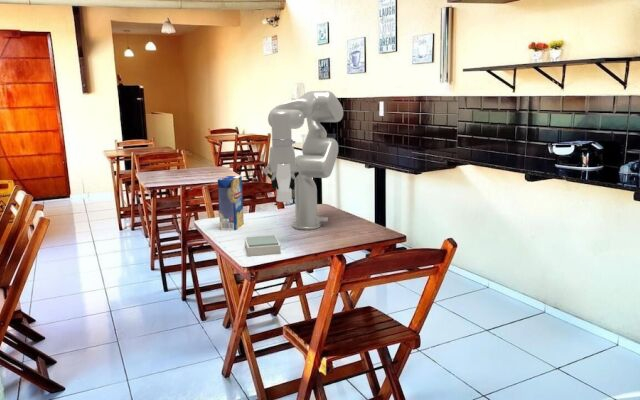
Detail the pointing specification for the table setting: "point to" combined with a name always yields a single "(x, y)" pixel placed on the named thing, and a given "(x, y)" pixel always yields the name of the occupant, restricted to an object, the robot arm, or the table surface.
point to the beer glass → (283, 182)
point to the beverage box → (230, 202)
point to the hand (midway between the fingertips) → (283, 188)
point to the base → (262, 245)
